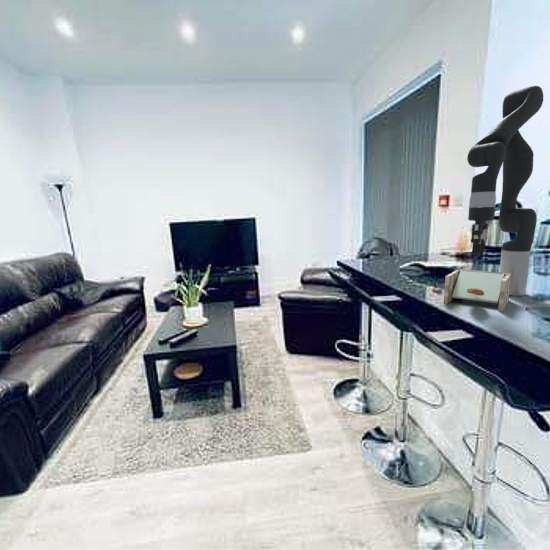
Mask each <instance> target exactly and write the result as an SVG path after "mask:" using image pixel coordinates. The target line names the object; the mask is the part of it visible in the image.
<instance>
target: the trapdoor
mask: <svg viewBox="0 0 550 550" xmlns="http://www.w3.org/2000/svg"><path fill="white" fill-rule="evenodd" d="M460 270H461V271H460V274H459V276H458V279H457V282H456V285H455V288H454V291H453V294H452V298H454V299H461V300H467V301H475V302H484V303H492V304H499V296H500V286H501V281H502V280H503V278H504V273H501V272H500V271H488V270H487V271H486V270H485V271H484V270H474V269H473V270H472V269H460ZM470 288H477V289H481V290H482V291H483V292H484V295H482V296H481V295H475V294H471V293H468V292H467V289H470Z"/></svg>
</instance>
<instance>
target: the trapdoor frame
mask: <svg viewBox="0 0 550 550" xmlns="http://www.w3.org/2000/svg"><path fill="white" fill-rule="evenodd" d="M461 270H462V269H455V270H453V271H452V272H450V273H449V274H447V275H445V276H444V277H445V280H444V291H443V292H444V293H443V304H444V305H448V304H449V303H450V302H452V301H453V300H454V299H455V298H452V294H453V291H454V288H455V285H456V282H457V279H458V276H459V274H460V271H461ZM510 282H511V274H506V273H504V278H503V280H502V281H501V286H500V296H499V300H498V307H497V311H498V312H503V311H504V310H505V308H506V306H507V304H508V302H509V301H510V300H509V299H510V295H509V292H510Z"/></svg>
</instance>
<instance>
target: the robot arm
mask: <svg viewBox="0 0 550 550" xmlns="http://www.w3.org/2000/svg"><path fill="white" fill-rule="evenodd" d="M543 103H544V91H543V89H542V88H541V86H539V85H531V86H527V87H524V88H521V89H518V90H513V91H511V92H508V93H507V94H506V95H505V96H504V98H503V102H502V119H501V120H499V121H497V123H496V124H494V126H493V127H492V128H491V130H490V131H489V132H488V133H487V135H486V136H484V137H483V138H481V139H480V140H479V141H478V142H476V143H475V144H473V146H472V147H471V148H470V149H469V151H468V153H467V163H468V165H469V166H471V167H473V168H482V167H487V168H486V170H484V171H483V172H481V173H479V174H475V175H474V176H473V177H472V180H471V188H470V189H471V190H470V197H469V205H468V217H467V219H468V221H473V222H474V224H472V226H471V238H470V242H471V244H472V247H471V248H472V249H471V255H472V256H475V257H476V256H480V254H483V253H485V248H486V247H485V246H486V242H487V240H488V229H489V223H488V222H487V221H494V219H495V215H496V214H495V211H496V202H497V196H496V193H497V192H496V191H497V183H498V182H497V180H498V178H499V177H498V176H499V174H500V171H501V168H502V191H501V202H500V206H499V207H500V208H499V216H498V225H499V228H500V230H501V231H502V232H503V233H514V234H516V235H515V237H514V239H511V240H508V241H505V242H503V243H501V244H502V245H501V250H500V251H501V252H500V253H501V254H500V262H499V263H500V264H499V272H501V273H506V274H511V282H510V292H509V296H514V297H516V296H520V297H521V296H526V295H527V289H528V288H527V285H528V277H529V269H530V268H529V267H530V260H531V259H530V258H531V251H532V250H531V249H532V246H533V243H534V238H535V232H536V227H537V221H538V220H537V217H538V215H537V213H536V211H535V210H534V209H533V208H527V207H526V208H517V201H518V198H519V194H520V193H521V191H522V189H523V188H524V186H526V184H527V182H528V181H529V179H530V177H531V175H532V174H533V170H534V157H535V156H534V151H533V149H532V147H531V146H530V145H529V143H528V142H527V141H526V140H525V138H524V137H523V135H522V134H521V132H520V130H519V129H520V128H522V127H523V126H524V125H525V124H526V123H528V121H529V120H530V119H532V117H534V115H536V114H537V113H538V111H540V109H541V108H542V107H543Z"/></svg>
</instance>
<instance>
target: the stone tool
mask: <svg viewBox="0 0 550 550" xmlns="http://www.w3.org/2000/svg"><path fill="white" fill-rule="evenodd" d="M467 292H468V293H471V294H475V295H481V296H482V295H484V292H483V291H482V290H481V289H477V288H470V289H467Z"/></svg>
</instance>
